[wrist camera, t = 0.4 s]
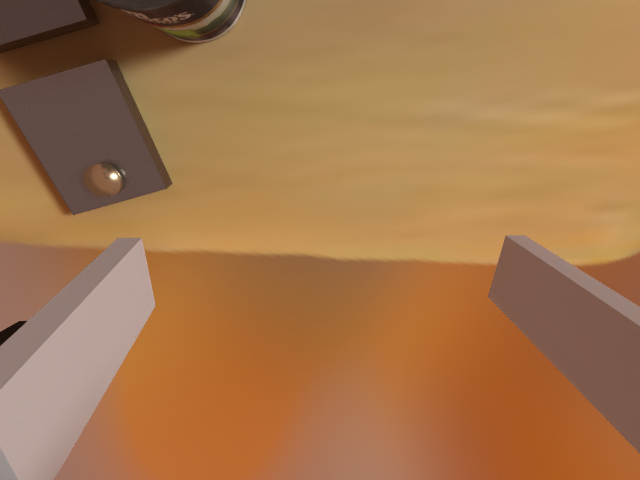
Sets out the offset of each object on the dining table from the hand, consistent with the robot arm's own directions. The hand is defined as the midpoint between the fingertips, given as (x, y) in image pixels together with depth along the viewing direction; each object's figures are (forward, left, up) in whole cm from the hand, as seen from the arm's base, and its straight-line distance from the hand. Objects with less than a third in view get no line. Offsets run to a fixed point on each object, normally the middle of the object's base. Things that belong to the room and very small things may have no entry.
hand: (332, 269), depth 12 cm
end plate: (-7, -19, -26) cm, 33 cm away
